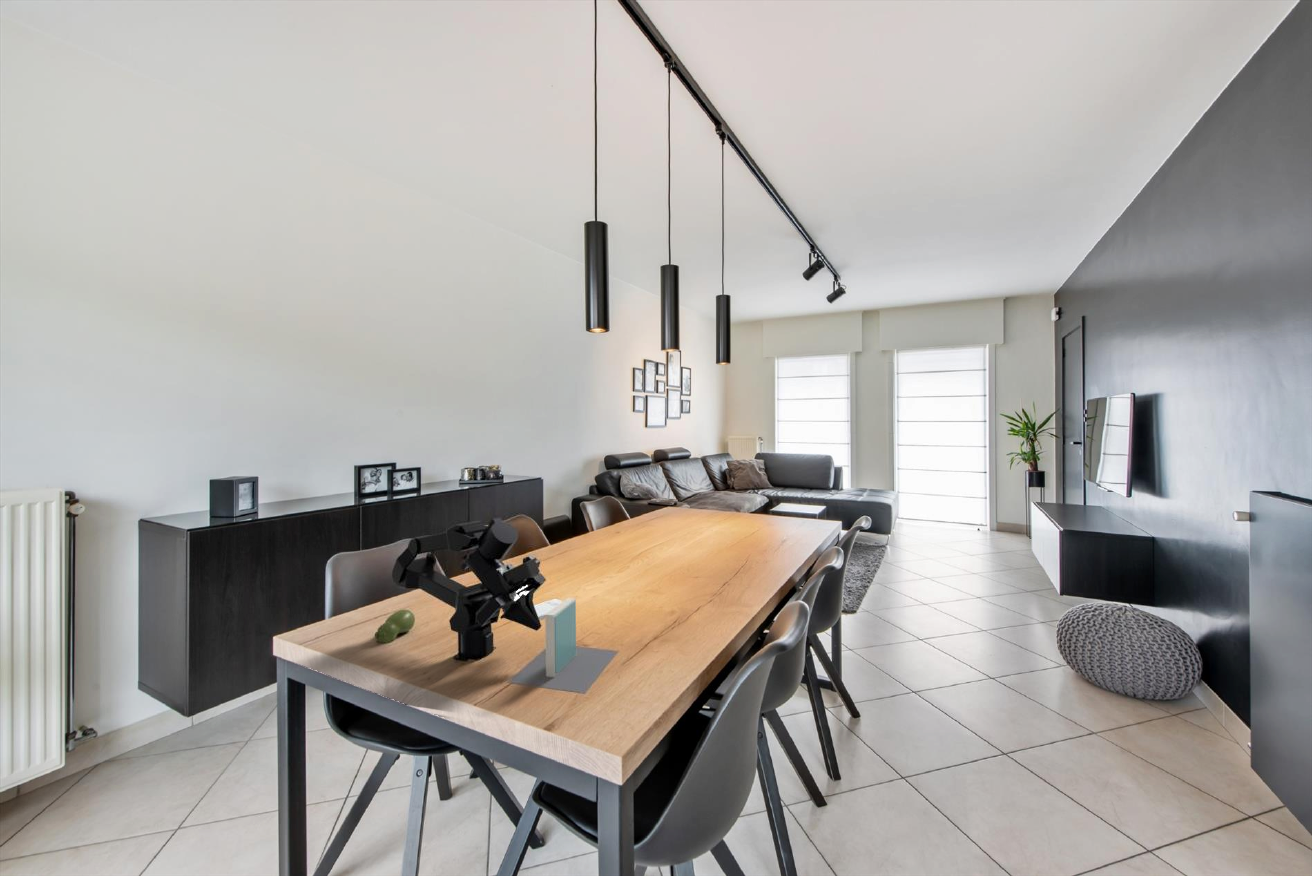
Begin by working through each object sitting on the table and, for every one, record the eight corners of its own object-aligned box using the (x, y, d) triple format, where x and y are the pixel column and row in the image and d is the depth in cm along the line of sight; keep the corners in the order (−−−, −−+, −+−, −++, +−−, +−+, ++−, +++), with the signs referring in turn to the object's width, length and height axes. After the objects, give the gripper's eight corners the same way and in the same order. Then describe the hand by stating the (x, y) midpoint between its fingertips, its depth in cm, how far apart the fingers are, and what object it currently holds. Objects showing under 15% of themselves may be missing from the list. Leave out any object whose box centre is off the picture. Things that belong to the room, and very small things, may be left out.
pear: (418, 606, 122) (387, 629, 112) (421, 626, 123) (390, 650, 113) (399, 604, 123) (366, 626, 114) (402, 624, 124) (370, 647, 115)
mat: (506, 685, 94) (506, 682, 94) (551, 646, 111) (551, 643, 111) (585, 696, 90) (585, 693, 90) (618, 653, 107) (618, 651, 107)
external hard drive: (517, 616, 131) (554, 603, 141) (536, 623, 126) (573, 609, 136) (516, 610, 131) (554, 597, 141) (535, 617, 126) (573, 603, 136)
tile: (546, 676, 96) (545, 614, 96) (568, 654, 106) (567, 597, 106) (555, 677, 96) (554, 615, 96) (576, 655, 105) (576, 598, 105)
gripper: (488, 556, 94) (541, 620, 91) (537, 536, 112) (583, 589, 109) (453, 595, 96) (504, 658, 94) (507, 569, 114) (551, 621, 111)
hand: (539, 628), depth 102 cm, fingers closed
